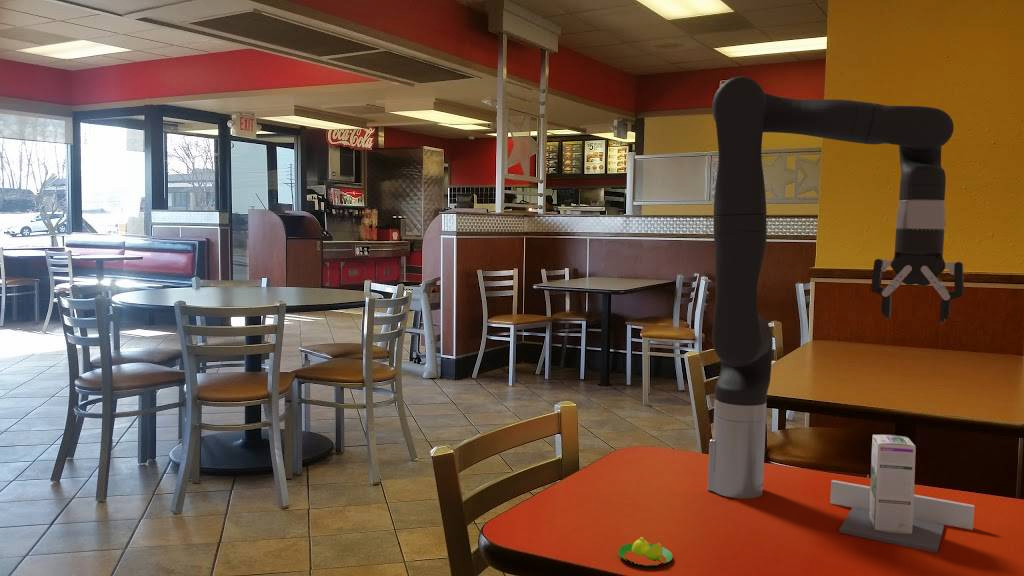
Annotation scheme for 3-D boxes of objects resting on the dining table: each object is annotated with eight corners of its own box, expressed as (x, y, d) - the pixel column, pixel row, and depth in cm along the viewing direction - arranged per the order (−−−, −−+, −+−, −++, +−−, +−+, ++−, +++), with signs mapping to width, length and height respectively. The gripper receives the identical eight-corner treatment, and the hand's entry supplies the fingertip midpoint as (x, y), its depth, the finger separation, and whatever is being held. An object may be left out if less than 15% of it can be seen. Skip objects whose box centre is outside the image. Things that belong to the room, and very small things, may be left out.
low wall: (830, 503, 141) (831, 481, 141) (831, 501, 142) (832, 479, 142) (972, 530, 130) (974, 507, 129) (972, 529, 130) (974, 505, 130)
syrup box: (913, 535, 126) (918, 445, 125) (872, 530, 127) (877, 442, 126) (905, 522, 131) (910, 436, 130) (866, 518, 133) (871, 433, 132)
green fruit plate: (682, 557, 119) (682, 538, 118) (654, 574, 112) (655, 555, 112) (635, 542, 124) (636, 524, 123) (607, 558, 118) (608, 539, 117)
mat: (839, 532, 128) (839, 528, 128) (852, 510, 138) (852, 507, 138) (937, 553, 120) (937, 549, 120) (944, 528, 130) (944, 524, 130)
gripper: (871, 226, 138) (867, 318, 140) (965, 227, 131) (959, 325, 132) (878, 226, 145) (873, 314, 146) (968, 227, 137) (962, 321, 138)
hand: (914, 319), depth 139 cm, fingers open, 8 cm apart
